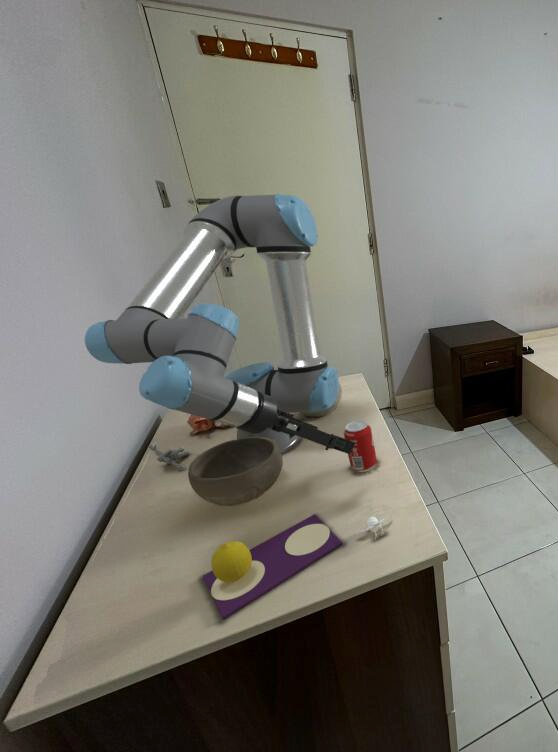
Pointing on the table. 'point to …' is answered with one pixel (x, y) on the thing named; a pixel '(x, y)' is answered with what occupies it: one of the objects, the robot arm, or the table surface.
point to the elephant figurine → (170, 456)
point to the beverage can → (361, 446)
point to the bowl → (236, 470)
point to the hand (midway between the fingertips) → (332, 439)
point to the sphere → (323, 413)
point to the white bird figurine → (373, 525)
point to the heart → (202, 423)
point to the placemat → (274, 564)
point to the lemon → (231, 561)
